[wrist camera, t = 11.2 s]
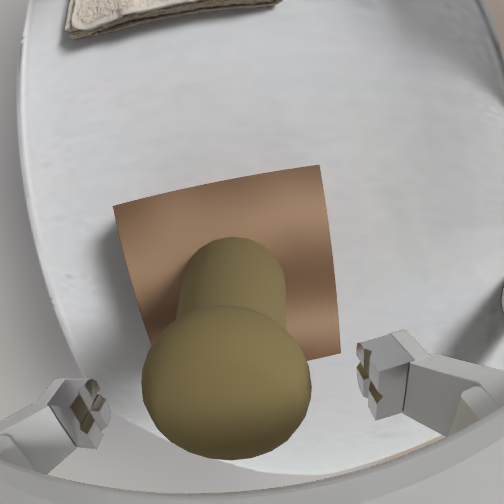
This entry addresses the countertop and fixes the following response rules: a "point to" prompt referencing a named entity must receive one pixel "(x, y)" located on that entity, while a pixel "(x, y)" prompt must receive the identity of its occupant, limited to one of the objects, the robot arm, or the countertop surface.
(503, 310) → the white cup
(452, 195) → the countertop surface
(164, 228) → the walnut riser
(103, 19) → the washcloth
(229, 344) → the olive tapered upright piece
